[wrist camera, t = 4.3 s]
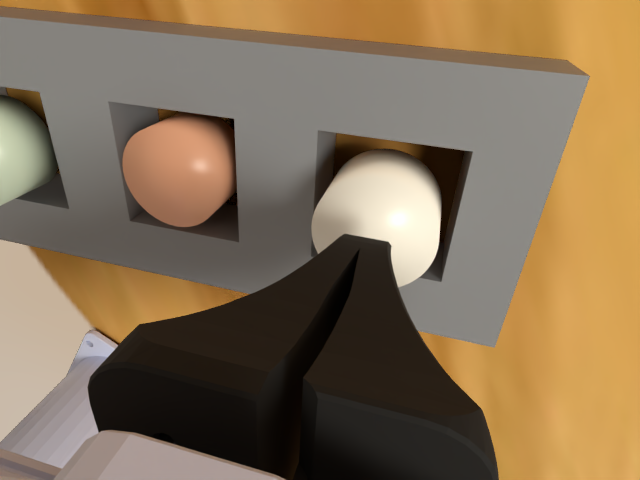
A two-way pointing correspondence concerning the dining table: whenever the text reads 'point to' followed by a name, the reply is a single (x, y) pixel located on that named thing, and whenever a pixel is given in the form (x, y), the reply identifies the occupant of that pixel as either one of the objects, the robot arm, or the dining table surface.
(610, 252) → the dining table surface
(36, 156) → the button sage
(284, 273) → the button panel
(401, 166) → the button cream
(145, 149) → the button terracotta
